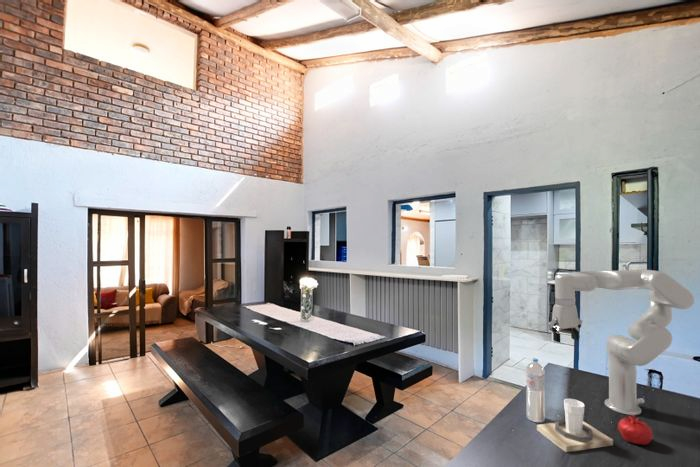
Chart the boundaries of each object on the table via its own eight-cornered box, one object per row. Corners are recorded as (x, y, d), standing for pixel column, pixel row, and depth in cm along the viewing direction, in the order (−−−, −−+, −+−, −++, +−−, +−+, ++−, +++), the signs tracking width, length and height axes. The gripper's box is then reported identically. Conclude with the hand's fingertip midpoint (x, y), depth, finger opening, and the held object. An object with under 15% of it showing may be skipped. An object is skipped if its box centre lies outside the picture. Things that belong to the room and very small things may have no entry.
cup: (583, 429, 131) (582, 400, 131) (586, 438, 125) (586, 408, 125) (562, 425, 134) (562, 397, 134) (564, 434, 128) (564, 404, 128)
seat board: (580, 424, 138) (580, 415, 138) (612, 445, 124) (612, 435, 124) (536, 429, 134) (536, 421, 134) (565, 452, 121) (565, 442, 121)
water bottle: (547, 424, 138) (547, 362, 138) (529, 422, 140) (528, 361, 139) (541, 415, 145) (541, 356, 145) (524, 413, 146) (523, 355, 146)
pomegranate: (655, 452, 121) (655, 426, 121) (619, 442, 126) (620, 418, 126) (649, 437, 129) (649, 413, 129) (616, 429, 135) (616, 405, 134)
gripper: (573, 299, 158) (574, 336, 158) (542, 301, 154) (543, 339, 154) (588, 302, 150) (589, 341, 150) (555, 305, 146) (556, 345, 146)
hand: (565, 340), depth 152 cm, fingers open, 9 cm apart
